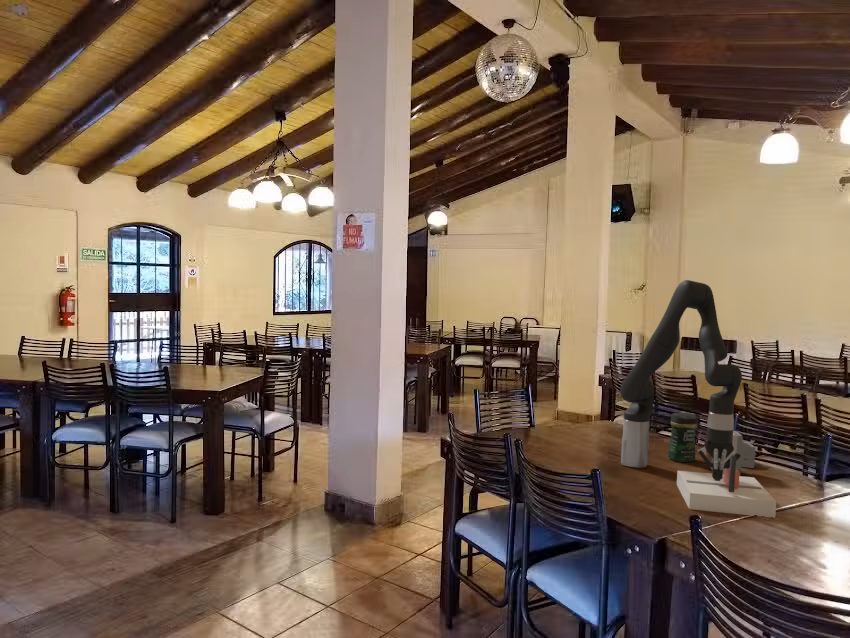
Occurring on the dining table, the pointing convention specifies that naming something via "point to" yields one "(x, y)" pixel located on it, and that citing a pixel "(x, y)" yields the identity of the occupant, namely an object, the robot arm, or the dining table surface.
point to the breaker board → (725, 495)
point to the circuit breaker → (742, 452)
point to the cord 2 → (732, 473)
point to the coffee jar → (682, 437)
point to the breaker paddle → (726, 477)
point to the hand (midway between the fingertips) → (717, 480)
